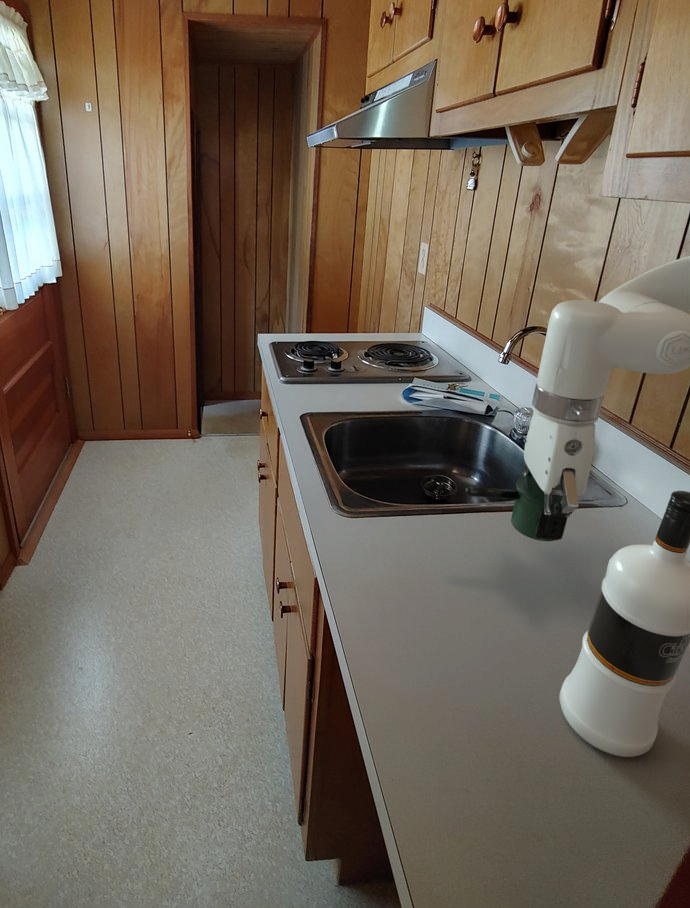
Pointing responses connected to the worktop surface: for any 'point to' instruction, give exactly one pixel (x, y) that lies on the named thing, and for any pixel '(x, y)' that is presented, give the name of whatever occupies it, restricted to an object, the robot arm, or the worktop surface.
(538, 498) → the pot
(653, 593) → the vodka
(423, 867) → the worktop surface
